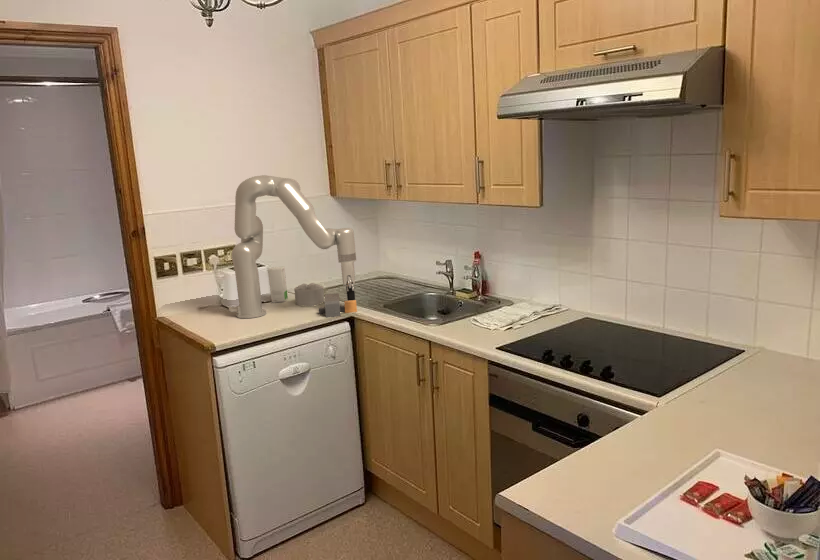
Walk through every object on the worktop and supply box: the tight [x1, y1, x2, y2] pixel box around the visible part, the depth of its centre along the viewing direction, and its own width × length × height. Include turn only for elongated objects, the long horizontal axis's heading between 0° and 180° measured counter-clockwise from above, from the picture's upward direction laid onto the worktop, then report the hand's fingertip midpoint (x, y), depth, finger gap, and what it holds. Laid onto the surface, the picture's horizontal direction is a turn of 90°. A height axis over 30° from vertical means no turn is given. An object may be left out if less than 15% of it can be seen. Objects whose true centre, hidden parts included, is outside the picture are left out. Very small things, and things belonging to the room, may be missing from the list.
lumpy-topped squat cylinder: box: [294, 282, 325, 307], centre depth 294 cm, size 10×13×9 cm
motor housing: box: [324, 293, 342, 318], centre depth 274 cm, size 6×14×7 cm, turn 7°
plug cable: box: [318, 299, 358, 315], centre depth 275 cm, size 16×4×4 cm, turn 96°
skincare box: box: [267, 266, 289, 304], centre depth 302 cm, size 8×7×16 cm
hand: (351, 297), depth 274 cm, fingers open, 9 cm apart
